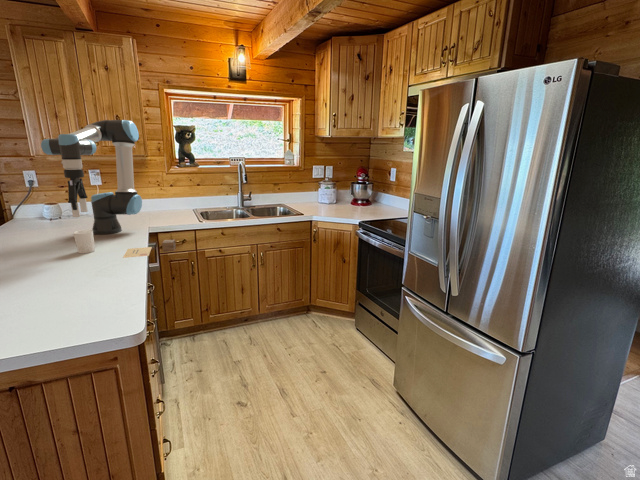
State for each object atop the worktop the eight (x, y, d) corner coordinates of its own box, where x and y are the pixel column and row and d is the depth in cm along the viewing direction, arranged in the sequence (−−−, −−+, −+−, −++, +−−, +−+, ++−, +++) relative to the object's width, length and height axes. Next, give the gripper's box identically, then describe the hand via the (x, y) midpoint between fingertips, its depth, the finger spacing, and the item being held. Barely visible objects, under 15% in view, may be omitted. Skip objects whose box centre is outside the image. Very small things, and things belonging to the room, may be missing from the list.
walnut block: (165, 249, 181) (164, 240, 180) (175, 249, 182) (175, 239, 181) (163, 252, 176) (162, 242, 175) (174, 252, 177) (173, 242, 176)
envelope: (128, 249, 181) (127, 248, 181) (152, 247, 185) (151, 246, 184) (122, 258, 166) (122, 257, 166) (148, 256, 170) (148, 255, 170)
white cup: (74, 254, 172) (70, 234, 170) (80, 250, 180) (76, 230, 177) (93, 253, 174) (89, 233, 172) (98, 248, 182) (95, 229, 179)
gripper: (71, 167, 177) (78, 210, 182) (54, 170, 154) (63, 219, 160) (89, 167, 179) (95, 209, 185) (75, 170, 157) (82, 218, 162)
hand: (80, 214), depth 172 cm, fingers open, 13 cm apart
